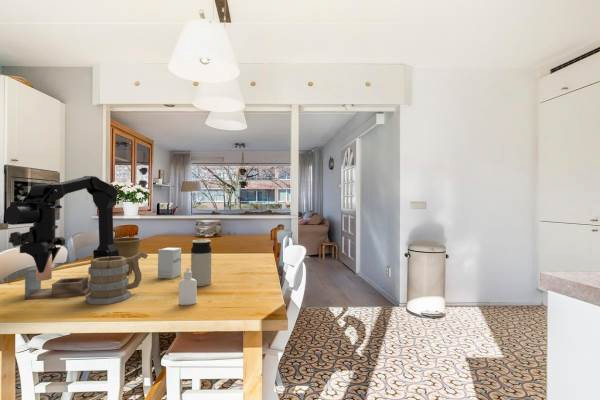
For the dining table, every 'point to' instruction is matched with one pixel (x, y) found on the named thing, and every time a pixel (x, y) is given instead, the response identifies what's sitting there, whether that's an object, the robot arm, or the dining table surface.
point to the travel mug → (201, 262)
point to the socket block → (54, 287)
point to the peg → (45, 271)
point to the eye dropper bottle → (187, 289)
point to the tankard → (112, 278)
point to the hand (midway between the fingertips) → (44, 271)
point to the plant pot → (127, 248)
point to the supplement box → (169, 262)
